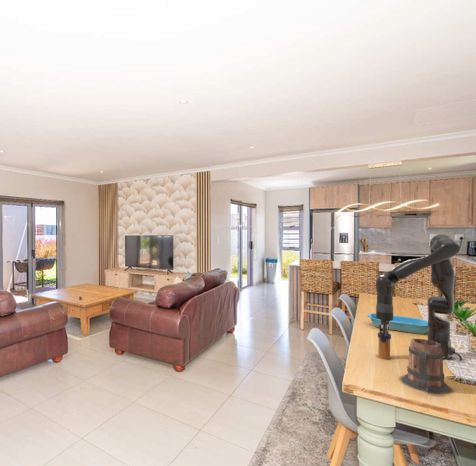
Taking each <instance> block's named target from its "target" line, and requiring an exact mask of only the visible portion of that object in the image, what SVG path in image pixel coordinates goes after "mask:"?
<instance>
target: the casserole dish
mask: <svg viewBox="0 0 476 466" xmlns="http://www.w3.org/2000/svg"><path fill="white" fill-rule="evenodd" d="M366 317H368V318H370V321H371V323H372V325H373V326H374V327H376V328H379V324H380V322H381V320H380V319H377V318H376V312H371V313H367V314H366ZM389 323H390V325H389V331H397V332H403V333H409V334H419V335H424V334H427V333H428V319H424V318H417V317H412V316H411V317H409V316H402V315H395V314H393V320H392V321H390V322H389Z"/></svg>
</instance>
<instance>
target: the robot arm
mask: <svg viewBox="0 0 476 466" xmlns="http://www.w3.org/2000/svg"><path fill="white" fill-rule="evenodd" d="M429 250H430V254H428V255H426V256H422V257H418V258H412V259H408V260H406V261H403V262H402V263H400V264H398V265H396V266H395V267H393V268H392V269H391V270H389V271H387V272H385V273H383V274H381V275H380V276H378V277H377V278H376V280H375V287H376V305H375V313H376V318H377V319H380V320H381V322H380V324H379V332H380V333H379V334H380V335H381V342H386V333H389V332H390V330H389V325H390V323H389V322H390V321H392V320H393V315H394V304H393V303H394V301H393V300H394V296H393V294H392V293H393V291H392V289H393V288H392V287H393V285H395V284H396V283H398V282H400V281H402V280H404V279H407V278H408V277H410V276H412V275H414V274H416V273H417V272H419V271H421V270H423V269H425V268H428V267H430V268H431V269H430V282H431V284H432V285H433V286H434V287H435V288H436V290H438V291H439V292H440V293H441V294H442V295H443V296H444V297H443V296H431V295H430V296H428V298H427V303H426V304H427V321H428V331H427V340H431V341H434V342H437V343H440V344H441V349H442V352H443V359H446V360H449V359H450V358H451V357H452V356H454V355H456V356H458V358H459V361H460V362H463V357H462V356H461V354H459V353H457V352H456V348H454V347H452V340H451V322H450V321H449V320H447V319H444V318H442V317H440V316H439V315H452V314H453V313H454V311H455V298H454V297H455V296H454V293H455V292H454V290H455V279H456V274H455V273H456V272H455V269H454V266H453V263H452V260H451V258H453V257H455V256H457V255H458V254H459V253H460V252H461V246H460V244H458V243H457V241H455V240H454V238H452V237H451V236H449V235H447V234H445V233H443V234H442V233H439V234H436V235H434V236H433V237H432V238H431V239H430V241H429ZM437 314H439V315H437ZM382 332H384V333H382ZM389 334H390V333H389Z"/></svg>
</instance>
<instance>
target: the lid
mask: <svg viewBox="0 0 476 466" xmlns="http://www.w3.org/2000/svg"><path fill="white" fill-rule="evenodd" d="M379 333H380V331H378V332H377V337H378V339H379V338H381V335H380V334H379ZM382 333H384V332H383V331H382ZM386 339H390V340H392V334H391V333H386Z"/></svg>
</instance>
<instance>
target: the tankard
mask: <svg viewBox="0 0 476 466" xmlns="http://www.w3.org/2000/svg"><path fill="white" fill-rule="evenodd" d="M407 363H408V364H407V367H406V368H407V369H406V371H407V373H406V374H405V375H404V376H402V377H401V381H402V382H403V383H404V384H406V385H407V386H410V387H411V388H413V389H417V390H418V391H419V390H420V391H423V392H427V393H433V394H449V393H451V392H452V391H451V390H452V389H451V388H450V387H449V386H448V384H447V383H446V382H445V372H444V358H443V352H442V349H441V344H440V343H437V342H434V341H431V340H428V339H425V338H411V340H410V343H409V346H408V362H407Z"/></svg>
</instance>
